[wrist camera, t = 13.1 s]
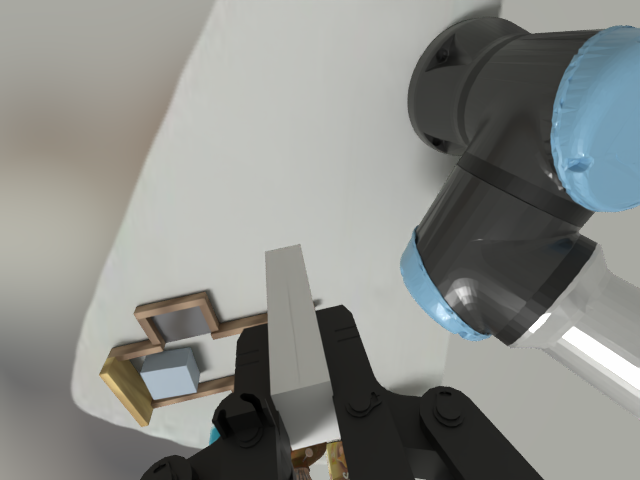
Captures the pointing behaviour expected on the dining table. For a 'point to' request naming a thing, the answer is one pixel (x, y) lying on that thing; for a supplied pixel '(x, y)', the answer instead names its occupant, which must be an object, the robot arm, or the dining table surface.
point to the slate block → (170, 373)
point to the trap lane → (163, 327)
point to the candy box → (336, 461)
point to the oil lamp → (306, 459)
